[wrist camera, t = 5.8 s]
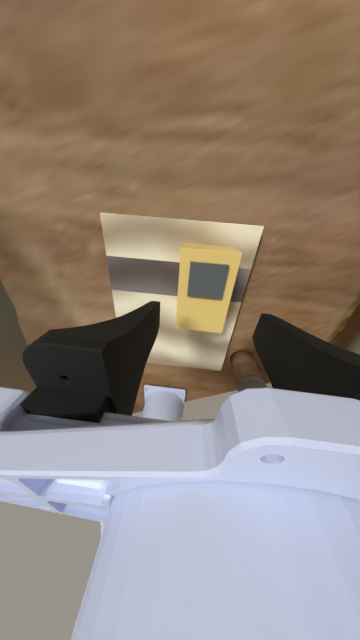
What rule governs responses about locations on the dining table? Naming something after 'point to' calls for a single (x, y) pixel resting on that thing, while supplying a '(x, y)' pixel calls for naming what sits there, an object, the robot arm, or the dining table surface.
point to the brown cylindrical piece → (246, 371)
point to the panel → (173, 279)
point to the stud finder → (205, 286)
